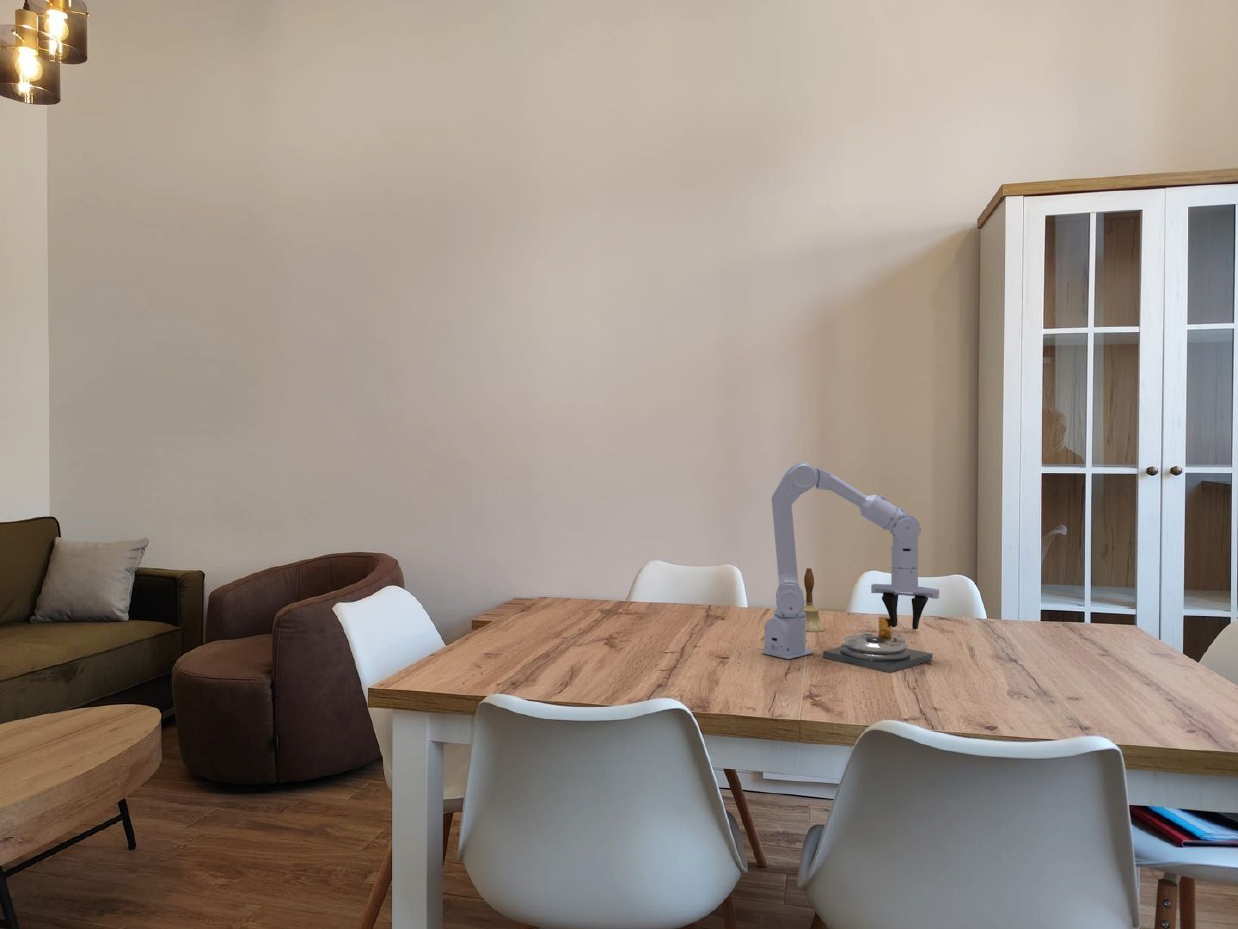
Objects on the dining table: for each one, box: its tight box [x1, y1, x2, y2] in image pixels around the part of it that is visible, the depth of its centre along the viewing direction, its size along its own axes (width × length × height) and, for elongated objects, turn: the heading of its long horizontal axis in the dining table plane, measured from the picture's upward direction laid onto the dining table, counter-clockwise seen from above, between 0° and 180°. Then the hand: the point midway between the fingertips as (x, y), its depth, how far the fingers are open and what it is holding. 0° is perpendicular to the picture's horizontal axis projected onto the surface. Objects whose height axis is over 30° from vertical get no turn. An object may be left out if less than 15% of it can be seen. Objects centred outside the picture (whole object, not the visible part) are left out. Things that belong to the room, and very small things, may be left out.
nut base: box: [822, 642, 933, 674], centre depth 190 cm, size 17×17×3 cm
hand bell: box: [802, 567, 826, 633], centre depth 223 cm, size 8×8×16 cm
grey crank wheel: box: [844, 616, 907, 654], centre depth 189 cm, size 13×13×6 cm
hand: (904, 627), depth 190 cm, fingers open, 4 cm apart
